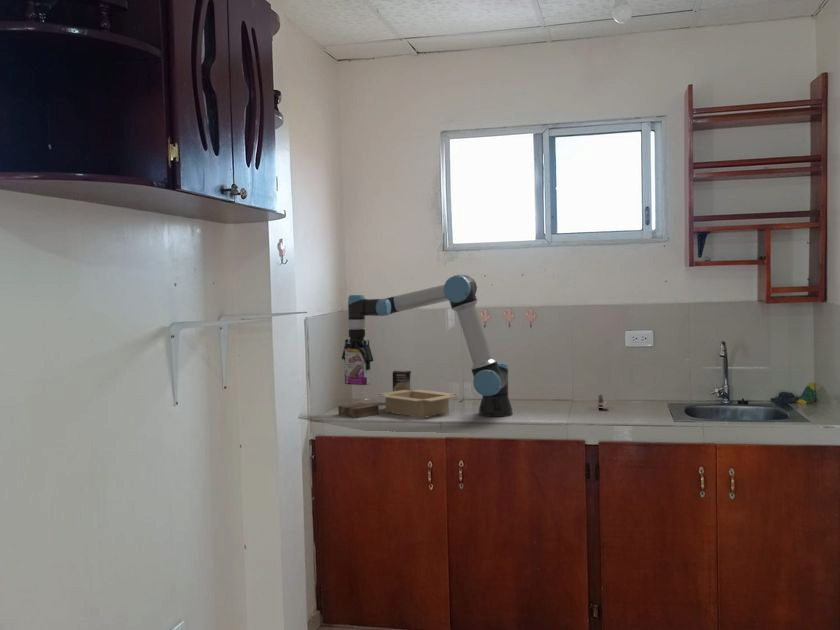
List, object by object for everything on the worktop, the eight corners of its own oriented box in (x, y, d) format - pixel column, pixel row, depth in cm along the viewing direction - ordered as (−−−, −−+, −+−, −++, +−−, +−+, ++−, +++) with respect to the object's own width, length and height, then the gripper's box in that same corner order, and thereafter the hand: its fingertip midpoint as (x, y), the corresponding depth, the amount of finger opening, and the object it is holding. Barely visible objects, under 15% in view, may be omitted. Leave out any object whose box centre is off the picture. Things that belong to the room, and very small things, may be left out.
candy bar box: (344, 384, 345) (343, 348, 344) (349, 383, 350) (348, 347, 349) (366, 385, 341) (366, 349, 340) (371, 384, 346) (370, 348, 345)
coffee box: (392, 404, 373) (391, 372, 373) (393, 402, 380) (393, 370, 379) (410, 404, 372) (410, 372, 372) (412, 402, 379) (411, 370, 378)
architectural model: (606, 409, 351) (606, 393, 351) (605, 411, 344) (605, 395, 344) (598, 409, 352) (598, 393, 351) (598, 411, 345) (597, 395, 345)
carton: (464, 412, 347) (463, 394, 347) (425, 420, 328) (424, 402, 328) (411, 404, 371) (411, 388, 370) (372, 412, 352) (372, 394, 352)
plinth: (378, 414, 346) (378, 405, 346) (357, 418, 337) (357, 409, 337) (359, 411, 355) (359, 402, 355) (338, 414, 346) (338, 406, 346)
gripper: (380, 329, 339) (381, 377, 340) (345, 327, 355) (346, 373, 356) (368, 330, 333) (369, 378, 334) (333, 328, 350) (334, 374, 351)
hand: (357, 376), depth 345 cm, fingers closed on candy bar box, 12 cm apart
